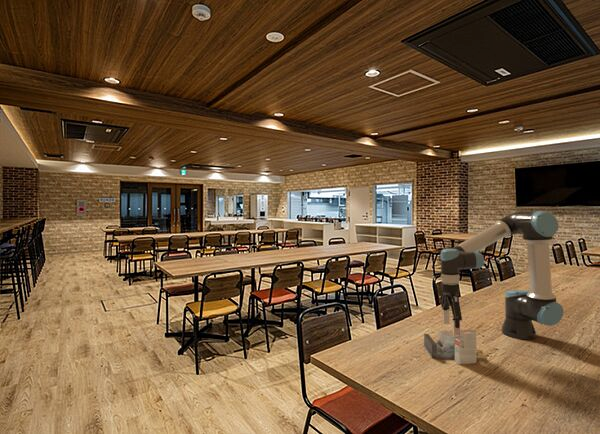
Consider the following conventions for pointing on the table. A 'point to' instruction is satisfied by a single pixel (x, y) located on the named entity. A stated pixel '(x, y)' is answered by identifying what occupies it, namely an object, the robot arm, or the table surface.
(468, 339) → the ink box
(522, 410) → the table surface
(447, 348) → the block
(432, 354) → the grey bookend
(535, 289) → the robot arm
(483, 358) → the brass key
